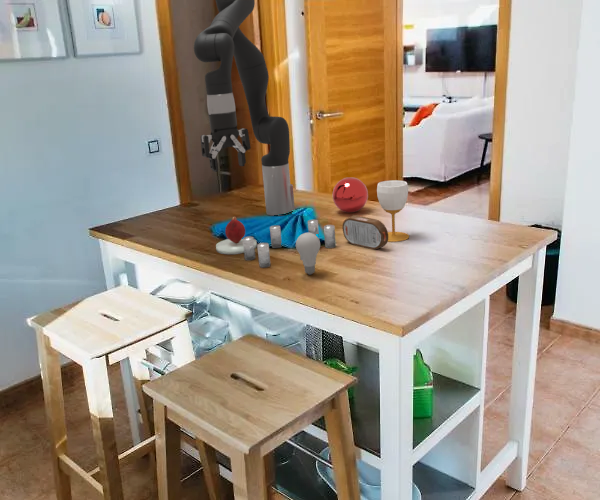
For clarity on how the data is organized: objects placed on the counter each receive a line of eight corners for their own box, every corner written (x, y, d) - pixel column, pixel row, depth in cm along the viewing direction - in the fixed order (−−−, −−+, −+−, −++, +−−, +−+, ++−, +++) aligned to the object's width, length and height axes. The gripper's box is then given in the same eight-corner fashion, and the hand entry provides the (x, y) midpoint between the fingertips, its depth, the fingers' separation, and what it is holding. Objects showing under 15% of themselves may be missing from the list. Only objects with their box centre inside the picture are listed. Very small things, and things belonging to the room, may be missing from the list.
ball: (374, 208, 207) (373, 174, 203) (359, 218, 198) (357, 182, 194) (343, 206, 213) (341, 173, 209) (327, 215, 204) (325, 180, 200)
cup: (412, 233, 178) (412, 180, 173) (404, 243, 170) (403, 187, 165) (383, 231, 182) (381, 179, 177) (374, 240, 174) (372, 186, 169)
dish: (244, 238, 186) (244, 234, 185) (264, 247, 176) (264, 243, 176) (209, 247, 179) (208, 244, 179) (228, 257, 170) (227, 253, 169)
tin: (389, 249, 166) (388, 220, 164) (382, 252, 164) (381, 223, 162) (348, 240, 177) (347, 212, 174) (341, 243, 175) (339, 215, 172)
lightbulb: (297, 271, 155) (294, 230, 152) (320, 269, 156) (318, 228, 152) (299, 279, 150) (295, 237, 146) (323, 277, 150) (320, 235, 146)
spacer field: (308, 235, 184) (307, 216, 182) (345, 249, 169) (344, 228, 167) (236, 255, 171) (234, 235, 169) (269, 271, 156) (267, 250, 154)
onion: (242, 246, 174) (239, 219, 172) (223, 246, 175) (220, 219, 173) (248, 240, 179) (246, 214, 177) (230, 240, 181) (227, 214, 178)
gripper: (237, 106, 172) (244, 162, 177) (192, 113, 165) (200, 171, 170) (250, 107, 166) (257, 165, 171) (204, 114, 159) (212, 175, 164)
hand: (228, 168), depth 171 cm, fingers open, 8 cm apart
